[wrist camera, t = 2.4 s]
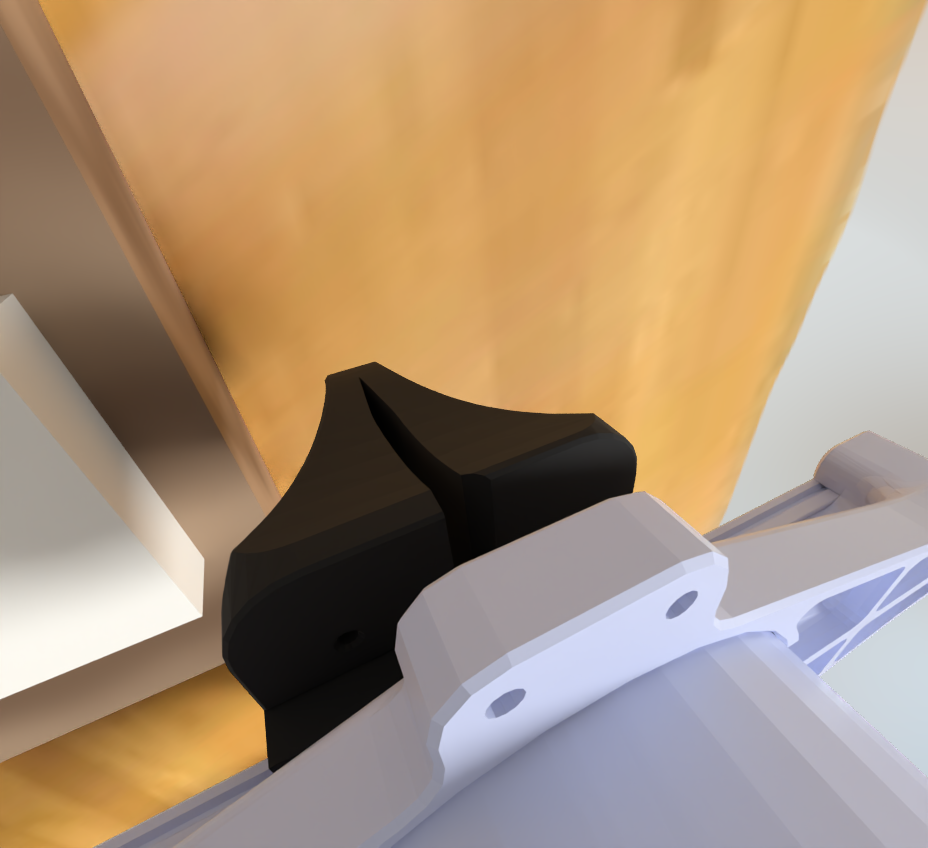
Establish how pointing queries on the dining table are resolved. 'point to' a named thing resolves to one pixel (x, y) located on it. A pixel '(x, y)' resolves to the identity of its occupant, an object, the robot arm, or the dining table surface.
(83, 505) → the tile
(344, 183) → the dining table surface
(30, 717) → the brown flat block
